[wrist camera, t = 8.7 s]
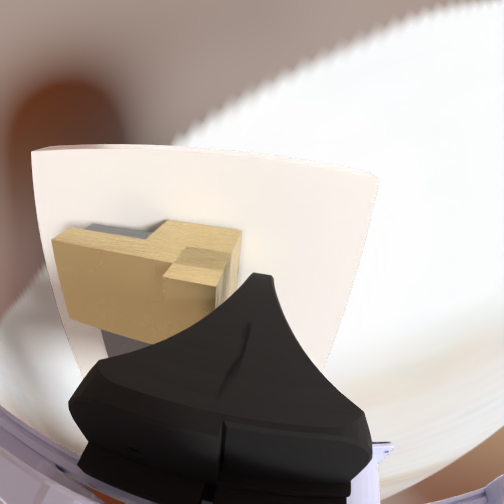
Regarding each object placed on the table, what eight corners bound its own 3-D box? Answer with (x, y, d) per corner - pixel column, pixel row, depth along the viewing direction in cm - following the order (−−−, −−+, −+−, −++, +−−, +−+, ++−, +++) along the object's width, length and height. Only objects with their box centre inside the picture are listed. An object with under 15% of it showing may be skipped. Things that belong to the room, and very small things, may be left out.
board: (287, 437, 20) (283, 480, 16) (102, 392, 21) (82, 425, 18) (370, 172, 11) (401, 196, 8) (49, 146, 13) (-5, 162, 9)
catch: (235, 307, 13) (212, 376, 9) (106, 280, 13) (59, 329, 10) (242, 230, 11) (216, 286, 8) (97, 210, 12) (36, 248, 8)
